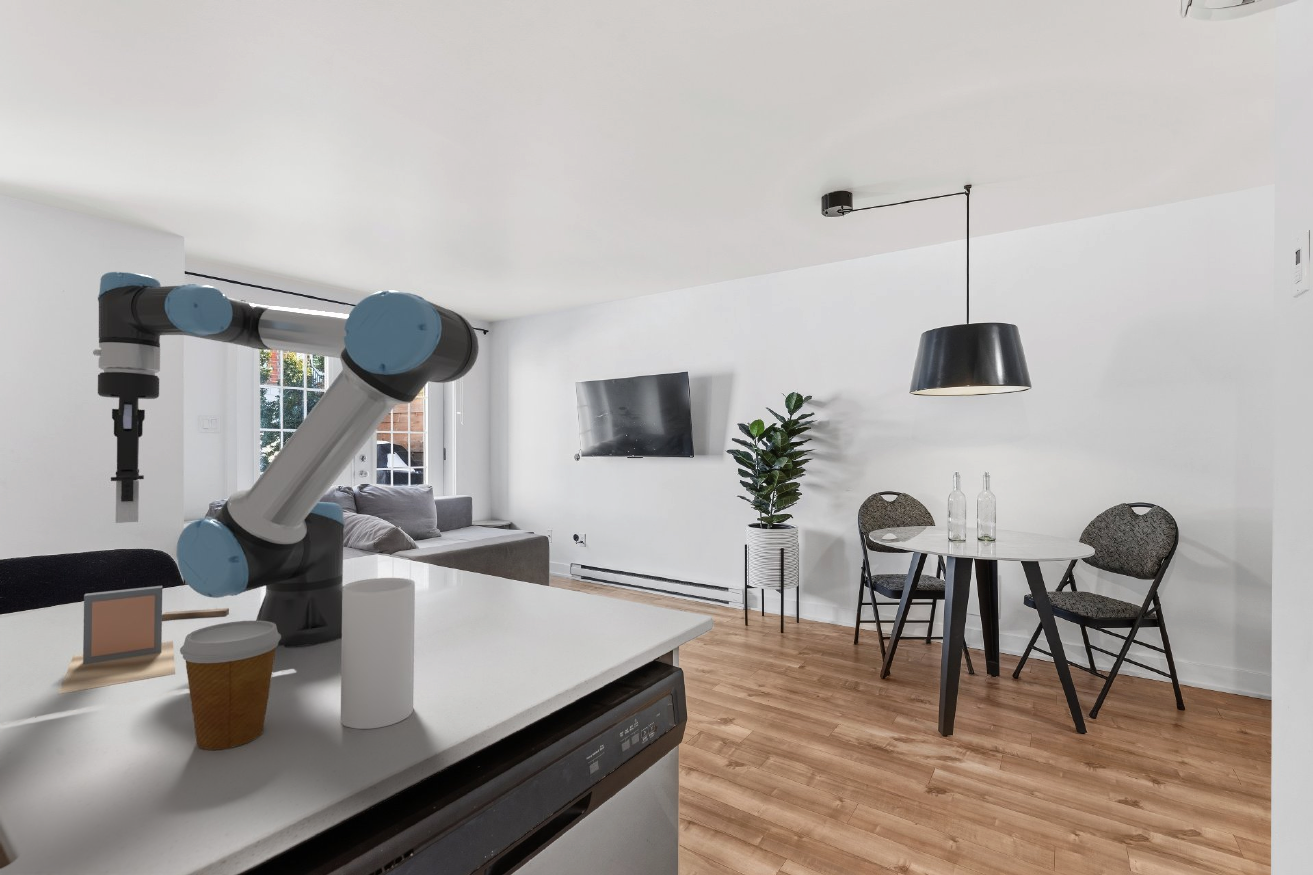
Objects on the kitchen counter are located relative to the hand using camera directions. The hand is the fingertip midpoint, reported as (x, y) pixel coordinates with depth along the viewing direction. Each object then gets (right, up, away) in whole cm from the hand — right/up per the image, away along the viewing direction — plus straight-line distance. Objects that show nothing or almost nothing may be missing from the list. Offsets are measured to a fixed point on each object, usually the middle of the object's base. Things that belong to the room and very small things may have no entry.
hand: (127, 521), depth 101 cm
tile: (+3, -20, -5) cm, 21 cm away
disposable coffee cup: (+36, -21, -29) cm, 50 cm away
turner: (-6, -21, +16) cm, 27 cm away
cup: (+49, -21, -22) cm, 58 cm away
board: (+6, -20, -8) cm, 23 cm away
